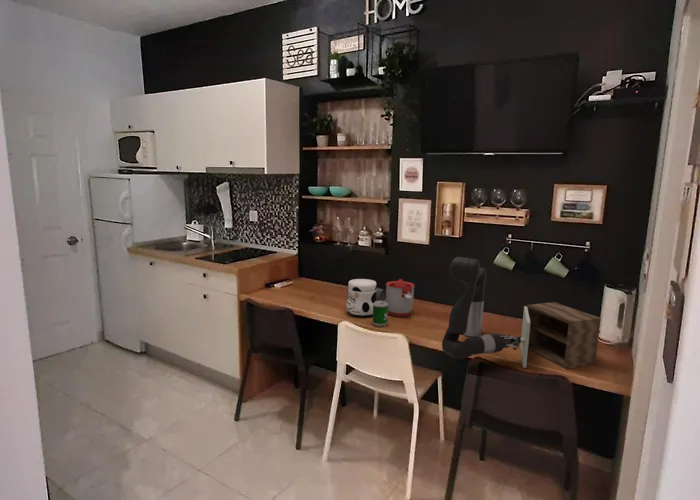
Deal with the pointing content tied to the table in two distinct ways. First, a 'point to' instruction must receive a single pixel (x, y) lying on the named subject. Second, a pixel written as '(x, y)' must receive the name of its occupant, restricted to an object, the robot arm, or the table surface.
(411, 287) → the citrus juicer
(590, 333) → the walnut cabinet
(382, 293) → the bluetooth speaker
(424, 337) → the table surface
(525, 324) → the sage door
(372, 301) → the milk container
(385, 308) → the soda can
